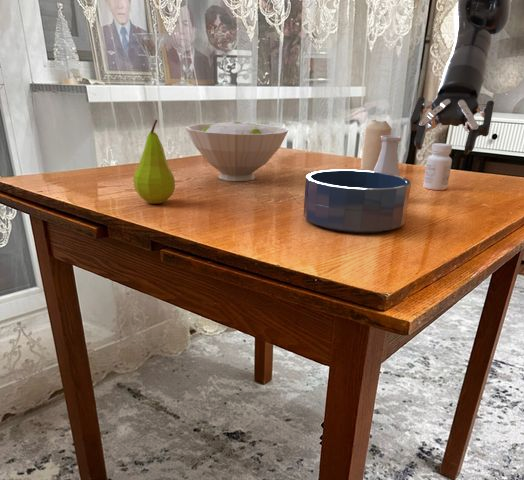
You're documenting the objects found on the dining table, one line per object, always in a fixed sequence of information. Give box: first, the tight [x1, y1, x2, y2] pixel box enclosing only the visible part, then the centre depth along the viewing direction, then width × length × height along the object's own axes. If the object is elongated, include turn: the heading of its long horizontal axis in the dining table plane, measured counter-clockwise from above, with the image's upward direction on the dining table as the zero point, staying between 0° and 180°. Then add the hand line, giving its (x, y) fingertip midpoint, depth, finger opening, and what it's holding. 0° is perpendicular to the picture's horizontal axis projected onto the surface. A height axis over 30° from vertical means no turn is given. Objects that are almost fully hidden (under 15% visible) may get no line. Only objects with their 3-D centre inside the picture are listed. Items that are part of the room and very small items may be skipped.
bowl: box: [185, 121, 289, 182], centre depth 103 cm, size 19×19×10 cm
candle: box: [360, 119, 392, 172], centre depth 115 cm, size 6×6×10 cm
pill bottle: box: [422, 142, 453, 191], centre depth 100 cm, size 4×4×8 cm
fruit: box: [132, 119, 176, 205], centre depth 81 cm, size 6×6×12 cm
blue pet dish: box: [302, 169, 412, 234], centre depth 76 cm, size 14×14×6 cm
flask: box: [373, 134, 402, 177], centre depth 89 cm, size 7×7×10 cm
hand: (442, 148), depth 99 cm, fingers open, 8 cm apart
